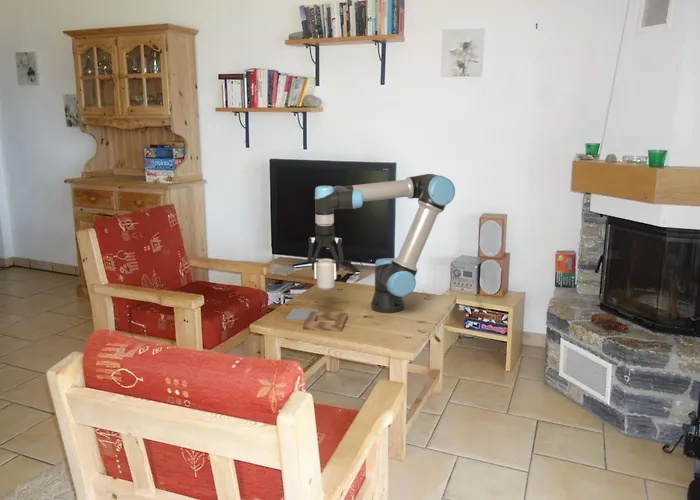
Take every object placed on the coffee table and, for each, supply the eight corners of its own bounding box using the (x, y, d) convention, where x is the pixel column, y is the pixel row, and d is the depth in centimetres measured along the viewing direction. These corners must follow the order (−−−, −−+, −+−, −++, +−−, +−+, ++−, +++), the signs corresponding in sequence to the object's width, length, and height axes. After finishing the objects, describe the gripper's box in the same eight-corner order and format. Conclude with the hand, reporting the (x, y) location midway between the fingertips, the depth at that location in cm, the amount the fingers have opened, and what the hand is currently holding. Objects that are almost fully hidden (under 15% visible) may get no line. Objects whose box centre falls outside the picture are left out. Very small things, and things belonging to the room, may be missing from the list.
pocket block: (347, 318, 257) (347, 313, 256) (341, 331, 241) (341, 325, 241) (311, 316, 259) (311, 311, 258) (303, 329, 243) (303, 323, 243)
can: (321, 291, 242) (321, 262, 239) (314, 286, 248) (313, 259, 245) (338, 288, 245) (337, 260, 242) (330, 284, 251) (329, 257, 249)
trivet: (319, 311, 265) (318, 309, 265) (313, 320, 254) (313, 318, 253) (292, 310, 267) (292, 308, 267) (286, 319, 255) (286, 317, 255)
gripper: (350, 222, 243) (351, 276, 248) (302, 222, 246) (303, 275, 251) (348, 226, 235) (348, 281, 241) (298, 225, 238) (299, 279, 243)
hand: (325, 278), depth 246 cm, fingers closed on can, 7 cm apart
